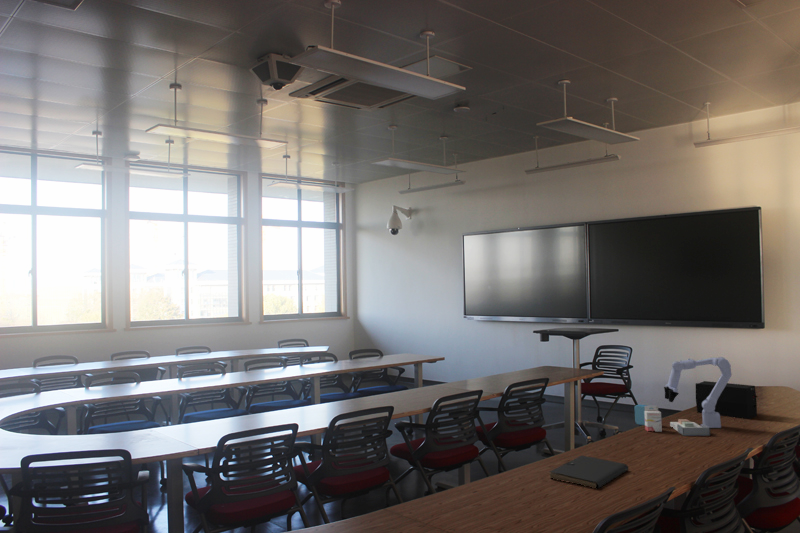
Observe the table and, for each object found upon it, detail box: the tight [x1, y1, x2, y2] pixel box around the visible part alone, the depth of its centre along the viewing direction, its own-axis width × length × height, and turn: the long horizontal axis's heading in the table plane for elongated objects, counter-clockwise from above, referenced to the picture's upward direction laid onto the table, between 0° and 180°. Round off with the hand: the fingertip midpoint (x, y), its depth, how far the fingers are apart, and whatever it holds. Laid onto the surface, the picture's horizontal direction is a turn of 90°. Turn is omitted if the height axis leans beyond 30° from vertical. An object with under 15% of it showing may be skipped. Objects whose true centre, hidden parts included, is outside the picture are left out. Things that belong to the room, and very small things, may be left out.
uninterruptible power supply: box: [695, 380, 758, 420], centre depth 379 cm, size 16×34×20 cm, turn 39°
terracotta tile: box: [677, 418, 691, 424], centre depth 348 cm, size 5×5×2 cm
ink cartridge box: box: [644, 405, 663, 433], centre depth 343 cm, size 9×5×15 cm, turn 84°
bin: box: [677, 423, 711, 437], centre depth 333 cm, size 15×9×4 cm, turn 82°
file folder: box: [549, 455, 629, 489], centre depth 266 cm, size 33×4×24 cm
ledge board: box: [669, 421, 703, 432], centre depth 345 cm, size 14×14×2 cm
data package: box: [633, 404, 654, 426], centre depth 359 cm, size 12×4×12 cm, turn 39°
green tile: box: [682, 421, 694, 427], centre depth 342 cm, size 5×5×2 cm
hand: (668, 400), depth 357 cm, fingers open, 7 cm apart
